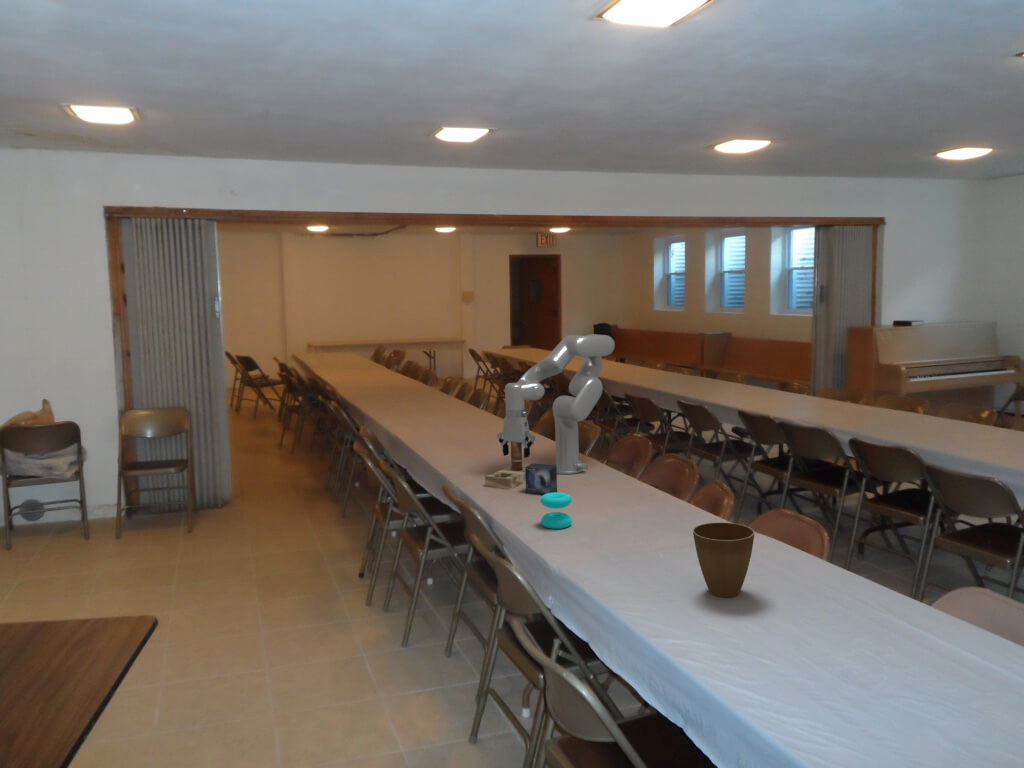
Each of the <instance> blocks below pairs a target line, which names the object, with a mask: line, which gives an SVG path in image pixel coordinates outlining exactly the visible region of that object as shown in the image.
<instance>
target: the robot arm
mask: <svg viewBox="0 0 1024 768" xmlns="http://www.w3.org/2000/svg"><path fill="white" fill-rule="evenodd" d="M615 347H616V344H615V340H614V339H613V338H612V336H610V335H606V334H596V333H591V334H590V333H589V334H587V335H581V334H580V335H578V334H568V335H565V336H564V337H563V339H561V341H560V342H559V343H558V344H557V345H556V346H555V347H554V348H553V350H551V352H550V353H549V354H548V355H547V356H546V357H545V358H544V359H542V360H540V361H539V362H538V363H536V364H534V365H533V366H532V367H530V368H529V369H528V370H526V372H525V373H524V374H523V375H522V376H520V379H518V380H517V382H508V383H506V384H505V387H504V395H505V398H504V399H505V402H504V403H505V417H504V419H503V428H502V431H500V432H499V433H497V434H496V436H497V439H498V442H499V443H500V445H501V446H502V453H503V454H502V455H503V456H508V455H509V454H510V453H509V451H510V449H509V448H510V447H509V443H511V442H512V441H515V442H517V443H522V445H523V458H524V459H526V458H529V457H530V455H531V450H530V449H531V447H532V445H533V444H534V442H535V440H536V436H534V435H533V434H532V433H531V432H530V426H529V422H528V418H527V415H528V412H527V411H526V410H525V401H539V400H540V399H542V398H543V396H544V395H545V387H544V386H543V384H542V383H541V382H543V381H544V380H546V379H548V378H550V377H553V376H556V375H558V374H560V373H562V372H563V371H564V370H565V369H566V367H567V366H568V365H569V364H570V363H571V361H573V360H574V358H575V357H583V360H582V364H581V365H580V367H579V368H578V370H577V371H576V372H575V374H574V376H573V377H572V379H571V381H570V382H569V385H568V392H569V393H570V394H571V396H570V395H560V396H558V397H556V398H555V399H554V401H553V403H552V414H553V419H554V428H555V429H554V431H555V433H554V434H555V435H554V436H555V465H556V466H557V475H558V474H559V475H575V474H580V473H582V472H583V471H584V470H587V469H588V464H587V463H582V460H581V459H580V457H579V456H580V454H579V451H580V449H579V448H580V447H579V446H580V445H579V443H580V442H579V425H578V423H579V422H582V421H584V420H586V419H587V417H589V415H590V414H591V412H592V411H593V409H594V407H595V406H596V405H597V403H598V401H599V400H600V398H601V396H602V394H603V388H604V387H603V383H602V381H601V380H600V379H599V376H600V374H601V373H602V370H603V358H602V357H607V356H609V355H611V354H612V353H613V352H614V350H615Z"/></svg>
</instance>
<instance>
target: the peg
mask: <svg viewBox="0 0 1024 768" xmlns="http://www.w3.org/2000/svg"><path fill="white" fill-rule="evenodd" d="M522 445H523V444H522V443H517V442H515V441H512V442H510V465H511V470H512V471H521V470H522V467H523V451H522V449H523V447H522Z"/></svg>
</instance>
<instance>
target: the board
mask: <svg viewBox="0 0 1024 768" xmlns="http://www.w3.org/2000/svg"><path fill="white" fill-rule="evenodd" d="M525 467H526V466H525ZM525 467H524V466H522V470H521V471H512V470H511V466H507V467H505V468H503V469H501V470H498V471H495V472H493V473H489V474H488V475H486V476H484V482H485V483H484V484H485V485H484V486H485V488H493V487H495V488H494V489H501V488H503V489H502V490H509V489H510V490H512V489H513V488H516V487H518V485H519V486H520V485H522V484H526V471H525ZM511 488H512V489H511Z"/></svg>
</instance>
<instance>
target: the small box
mask: <svg viewBox="0 0 1024 768" xmlns="http://www.w3.org/2000/svg"><path fill="white" fill-rule="evenodd" d="M525 471H526V482H525V493H526V494H530V495H538V496H543V495H544V494H547V493H554V492H558V476H557V475H558V473H557V466H556V464H555V465H554V464H544V463H536V462H532V463H530V464H528V465H526V466H525Z"/></svg>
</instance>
